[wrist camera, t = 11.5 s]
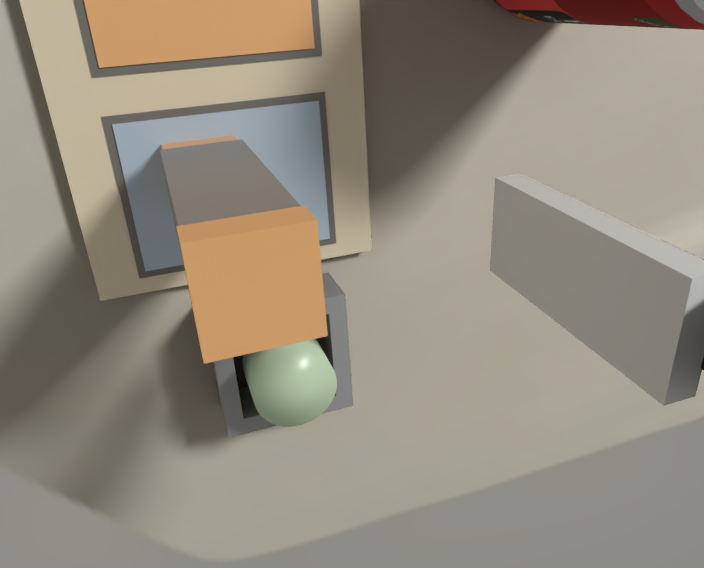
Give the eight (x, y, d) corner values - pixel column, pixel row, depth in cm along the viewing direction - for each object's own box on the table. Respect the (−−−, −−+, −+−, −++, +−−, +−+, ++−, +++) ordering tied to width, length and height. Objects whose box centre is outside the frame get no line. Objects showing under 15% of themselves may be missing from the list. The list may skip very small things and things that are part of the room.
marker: (156, 140, 23) (180, 243, 13) (236, 130, 24) (317, 220, 14) (171, 217, 25) (203, 363, 14) (247, 205, 25) (327, 336, 15)
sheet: (-34, -208, 18) (-40, -216, 18) (344, -200, 21) (350, -206, 21) (100, 295, 26) (100, 302, 25) (367, 245, 29) (372, 251, 28)
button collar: (200, 297, 27) (207, 322, 25) (328, 272, 29) (345, 294, 27) (221, 406, 30) (228, 437, 28) (337, 378, 31) (353, 405, 29)
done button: (237, 332, 26) (247, 364, 24) (316, 316, 27) (333, 344, 25) (248, 399, 28) (259, 435, 26) (322, 381, 29) (339, 414, 27)
